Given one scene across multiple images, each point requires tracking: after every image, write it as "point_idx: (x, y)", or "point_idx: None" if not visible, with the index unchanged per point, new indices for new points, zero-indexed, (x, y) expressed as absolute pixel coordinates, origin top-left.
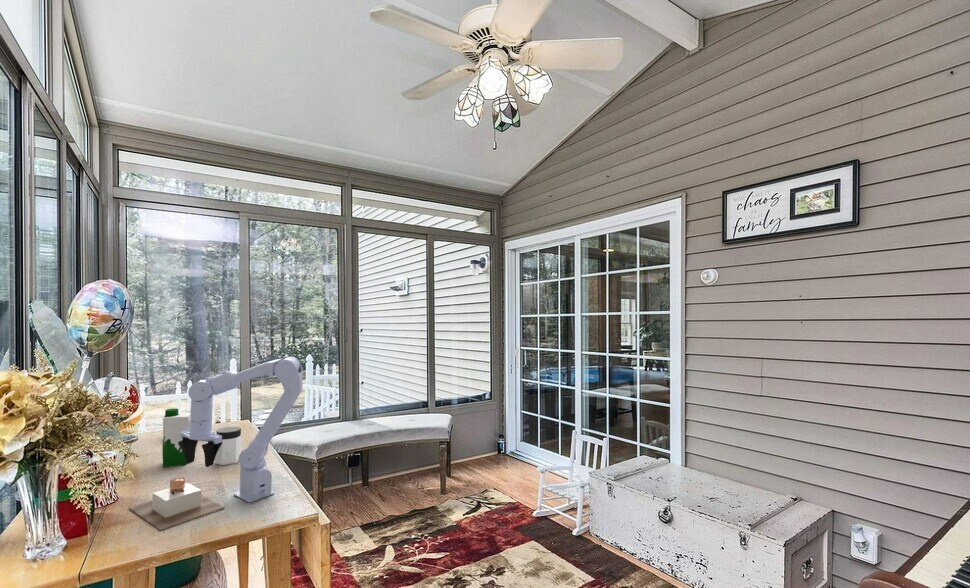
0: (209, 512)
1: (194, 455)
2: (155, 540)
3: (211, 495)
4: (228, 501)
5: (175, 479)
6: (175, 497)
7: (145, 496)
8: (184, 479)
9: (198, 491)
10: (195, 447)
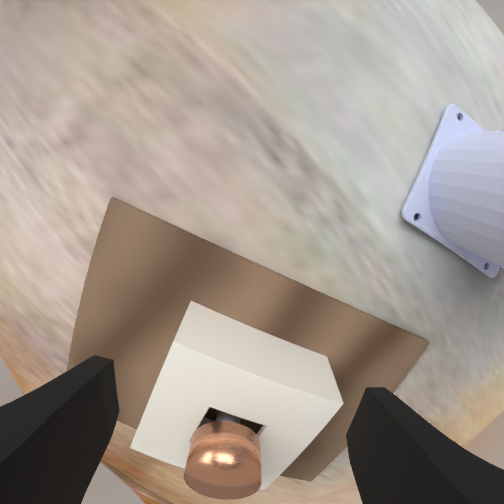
0: (396, 386)
1: (82, 392)
2: (331, 495)
3: (283, 233)
4: (411, 279)
5: (205, 479)
6: (278, 471)
7: (13, 294)
8: (257, 472)
9: (334, 409)
10: (27, 451)
